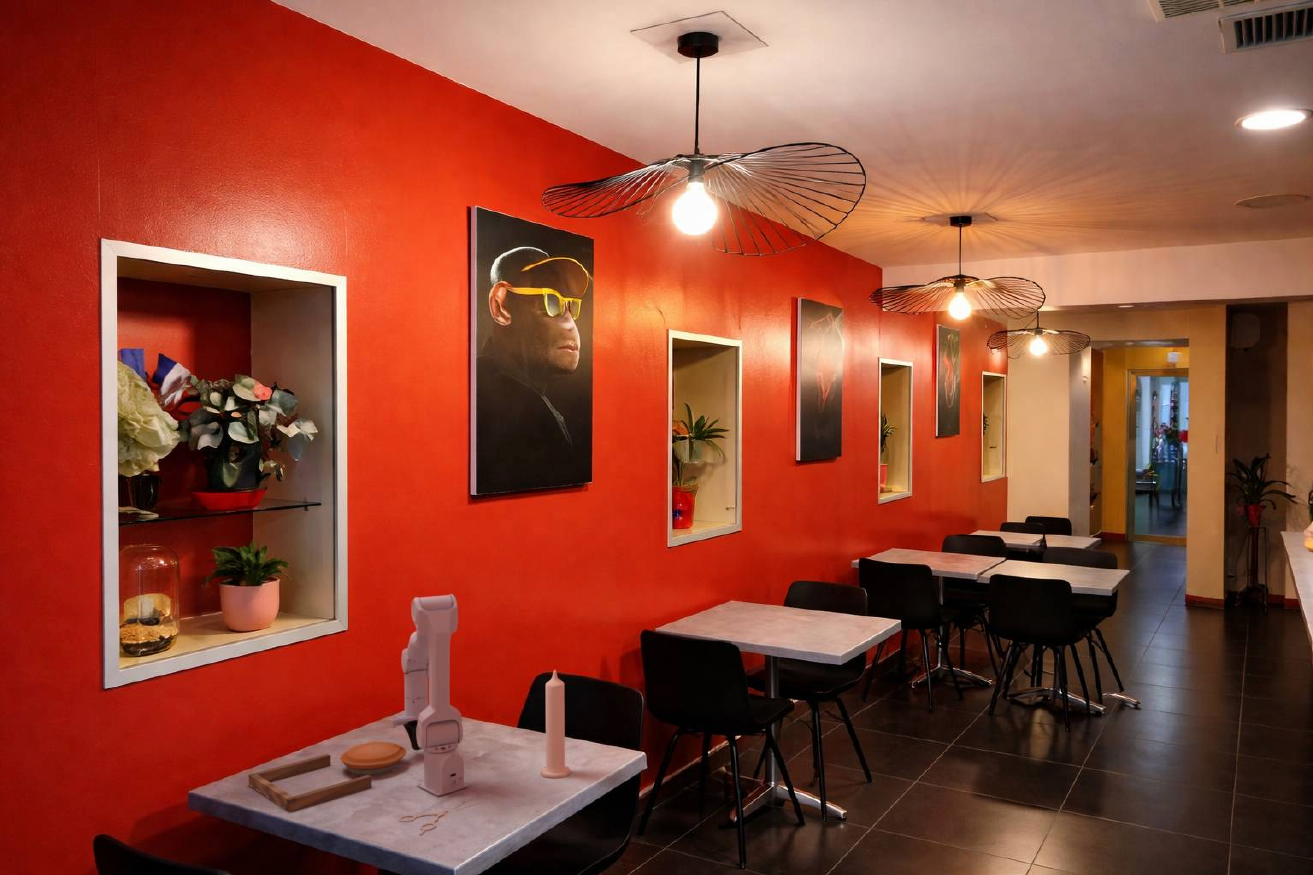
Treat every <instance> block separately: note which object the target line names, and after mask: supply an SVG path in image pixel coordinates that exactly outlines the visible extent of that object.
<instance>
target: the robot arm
mask: <svg viewBox="0 0 1313 875" xmlns="http://www.w3.org/2000/svg"><path fill="white" fill-rule="evenodd" d="M410 607H411V608H410V609H411V610H410V611H411V618H412V622H413V623H414V626H415V629H416V630H415V631H414V632H413V633H411V635H410V638H409V641H408V644H407V648H404V649H403V650H402V652H401V660H400V661H401V668H402V672H403V673H404V679H403V680H404V712H403V713H401V714H399V715H396V716H393V717H390V718H388V727H389V728H392V729H394V728H397V727H399V726H403V727H404V729H405V731H406V733H407V735H408V738H409V742H410V745H411V749H412V750H414V751H416V752H417V751H420V750H423V775H424V776H423V778H424V779H423V780H424V781H420V782H418V783H416V786H417V787H419V788H421V789H422V790H424V791H427V792H429V793H431V794H432V795H435V796H437V797H440V796H443V795H446V794H450V793H452V792H455V791H460V790H462V789H464V788H467V787H468V784H466V783H465V768H464V767H465V762H464V758H463V757H462V756H461V755H460V754H459V753H458V752H457V748H459V747H458V746H459V744H461V742H462V741H463V738H464V728H463V726H464V725H463V719H462V714H461V712H460V711H459V709H458V708H456V707H455V706H453V705H451V704H450V693H451V692H450V685H451V684H450V680H451V678H450V673H451V671H450V670H451V666H450V663H451V662H450V660H451V659H450V658H451V657H450V656H451V654H450V652H451V651H450V650H451V648H450V646H451V637H452V635H453V633H455V632H456V631H457V630H458V625H459V622H458V621H459V606H458V601H457V599H456V597H455V596H454V595H453V593H452V594H447V595H436V596H435V595H433V596H424V597H423V596H421V597H414V599H412V601H411V606H410Z"/></svg>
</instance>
